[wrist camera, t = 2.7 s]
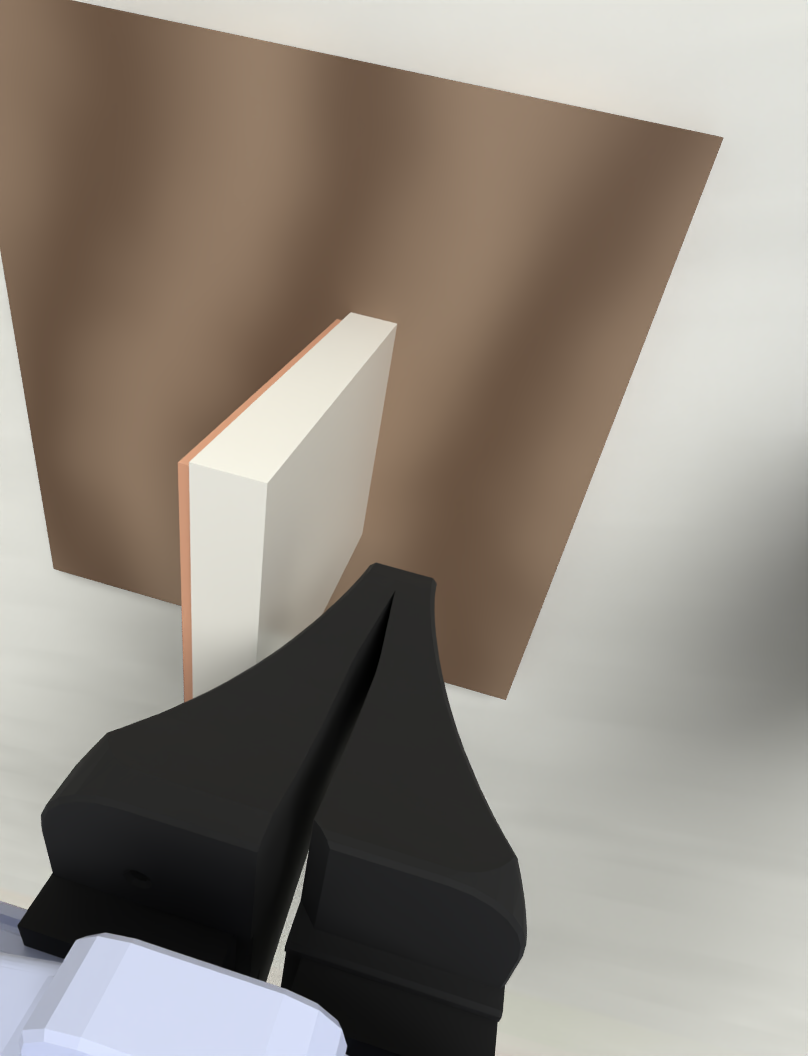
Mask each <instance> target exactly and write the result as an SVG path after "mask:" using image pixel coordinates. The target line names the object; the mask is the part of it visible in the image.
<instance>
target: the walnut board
mask: <svg viewBox="0 0 808 1056" xmlns="http://www.w3.org/2000/svg"><path fill="white" fill-rule="evenodd" d="M722 140H723V137H719V136H714V135H710V134H705V133H700V132H695V131H691V130H686V129H681V128H676V127H672V126H667V125H662V124H657V123H653V122H648V121H643V120H638V119H633V118H629V117H624V116H619V115H614V114H610V113H605V112H600V111H595V110H591V109H586V108H581V107H576V106H572V105H567V104H562V103H557V102H553V101H548V100H543V99H538V98H534V97H529V96H524V95H519V94H515V93H510V92H505V91H500V90H496V89H491V88H486V87H481V86H477V85H472V84H467V83H462V82H458V81H453V80H448V79H443V78H439V77H434V76H429V75H424V74H420V73H415V72H410V71H405V70H401V69H396V68H391V67H386V66H381V65H377V64H372V63H367V62H362V61H358V60H353V59H348V58H343V57H339V56H334V55H329V54H324V53H320V52H315V51H310V50H305V49H301V48H296V47H291V46H286V45H282V44H277V43H272V42H267V41H263V40H258V39H253V38H248V37H244V36H239V35H234V34H229V33H225V32H220V31H215V30H210V29H206V28H201V27H196V26H191V25H187V24H182V23H177V22H172V21H168V20H163V19H158V18H153V17H148V16H144V15H139V14H134V13H129V12H125V11H120V10H115V9H110V8H106V7H101V6H96V5H91V4H87V3H82V2H77V1H72V0H0V251H1V257H2V263H3V269H4V275H5V281H6V287H7V293H8V298H9V304H10V310H11V316H12V322H13V328H14V334H15V340H16V346H17V352H18V358H19V364H20V370H21V376H22V382H23V388H24V394H25V400H26V406H27V412H28V418H29V424H30V430H31V436H32V442H33V448H34V454H35V460H36V466H37V472H38V478H39V484H40V490H41V496H42V502H43V508H44V514H45V520H46V526H47V532H48V538H49V544H50V550H51V556H52V561H53V567H54V569H56V570H59V571H63V572H66V573H70V574H73V575H76V576H80V577H83V578H87V579H90V580H94V581H97V582H101V583H104V584H107V585H111V586H114V587H118V588H121V589H125V590H128V591H132V592H135V593H139V594H142V595H145V596H149V597H152V598H156V599H159V600H163V601H166V602H170V603H173V604H176V605H180V606H182V601H181V564H180V528H179V491H178V462H179V461H180V460H181V459H182V458H183V457H185V456H186V455H187V454H188V453H189V452H190V451H191V450H192V449H193V448H195V447H196V446H197V445H198V444H199V443H200V442H201V441H202V440H203V439H205V438H206V437H207V436H208V435H209V434H210V433H211V432H212V431H213V430H214V429H216V428H217V427H218V426H219V425H220V424H221V423H222V422H223V421H224V420H226V419H227V418H228V417H229V416H230V415H231V414H232V413H233V412H234V411H236V410H237V409H238V408H239V407H240V406H241V405H242V404H243V403H244V402H246V401H247V400H248V399H249V398H250V397H251V396H252V395H253V394H254V393H256V392H257V391H258V390H259V389H260V388H261V387H262V386H263V385H264V384H266V383H267V382H268V381H269V380H270V379H271V378H272V377H273V376H274V375H275V374H277V373H278V372H279V371H280V370H281V369H282V368H283V367H284V366H285V365H287V364H288V363H289V362H290V361H291V360H292V359H293V358H294V357H295V356H297V355H298V354H299V353H300V352H301V351H302V350H303V349H304V348H305V347H307V346H308V345H309V344H310V343H311V342H312V341H313V340H314V339H315V338H317V337H318V336H319V335H320V334H321V333H322V332H323V331H324V330H325V329H327V328H328V327H329V326H330V325H331V324H332V323H333V322H334V321H335V320H336V319H339V320H343V319H344V318H345V317H346V316H347V315H348V314H349V313H351V312H352V313H356V314H360V315H364V316H368V317H372V318H376V319H380V320H384V321H389V322H393V323H397V329H396V335H395V341H394V347H393V353H392V359H391V365H390V371H389V377H388V383H387V389H386V395H385V401H384V407H383V413H382V419H381V425H380V431H379V437H378V443H377V449H376V454H375V460H374V466H373V472H372V478H371V484H370V490H369V496H368V502H367V508H366V514H365V520H364V526H363V532H362V536H361V538H360V540H359V542H358V544H357V546H356V548H355V550H354V552H353V554H352V556H351V558H350V560H349V562H348V564H347V566H346V568H345V570H344V572H343V574H342V576H341V578H340V580H339V582H338V584H337V586H336V588H335V590H334V592H333V594H332V596H331V598H330V600H329V602H328V604H327V606H326V608H325V610H324V612H325V611H326V610H328V609H329V608H330V607H331V606H332V605H333V604H334V603H335V602H336V601H337V600H338V599H340V598H341V597H342V596H343V595H344V594H345V593H346V592H347V591H348V590H349V589H350V588H351V586H352V585H353V584H354V583H355V582H356V581H357V580H358V579H359V578H360V577H361V575H362V574H363V573H364V572H365V571H366V569H367V568H368V567H369V566H370V565H371V564H374V563H380V564H383V565H387V566H391V567H394V568H398V569H402V570H405V571H409V572H413V573H416V574H420V575H424V576H427V577H431V578H433V579H434V580H435V582H436V583H437V586H436V591H435V628H436V638H437V645H438V652H439V659H440V665H441V670H442V675H443V680H444V682H446V683H449V684H452V685H456V686H459V687H463V688H466V689H470V690H473V691H477V692H480V693H483V694H487V695H490V696H494V697H497V698H501V699H504V700H506V698H507V695H508V693H509V690H510V688H511V685H512V682H513V680H514V677H515V675H516V672H517V669H518V667H519V664H520V662H521V659H522V657H523V654H524V651H525V649H526V646H527V644H528V641H529V639H530V636H531V633H532V631H533V628H534V626H535V623H536V620H537V618H538V615H539V613H540V610H541V608H542V605H543V602H544V600H545V597H546V595H547V592H548V589H549V587H550V584H551V582H552V579H553V577H554V574H555V571H556V569H557V566H558V564H559V561H560V558H561V556H562V553H563V551H564V548H565V546H566V543H567V540H568V538H569V535H570V533H571V530H572V528H573V525H574V522H575V520H576V517H577V515H578V512H579V509H580V507H581V504H582V502H583V499H584V497H585V494H586V491H587V489H588V486H589V484H590V481H591V478H592V476H593V473H594V471H595V468H596V466H597V463H598V460H599V458H600V455H601V453H602V450H603V448H604V445H605V442H606V440H607V437H608V435H609V432H610V429H611V427H612V424H613V422H614V419H615V417H616V414H617V411H618V409H619V406H620V404H621V401H622V398H623V396H624V393H625V391H626V388H627V386H628V383H629V380H630V378H631V375H632V373H633V370H634V368H635V365H636V362H637V360H638V357H639V355H640V352H641V349H642V347H643V344H644V342H645V339H646V337H647V334H648V331H649V329H650V326H651V324H652V321H653V318H654V316H655V313H656V311H657V308H658V306H659V303H660V300H661V298H662V295H663V293H664V290H665V287H666V285H667V282H668V280H669V277H670V275H671V272H672V269H673V267H674V264H675V262H676V259H677V257H678V254H679V251H680V249H681V246H682V244H683V241H684V238H685V236H686V233H687V231H688V228H689V226H690V223H691V220H692V218H693V215H694V213H695V210H696V207H697V205H698V202H699V200H700V197H701V195H702V192H703V189H704V187H705V184H706V182H707V179H708V177H709V174H710V171H711V169H712V166H713V164H714V161H715V158H716V156H717V153H718V151H719V148H720V146H721V143H722ZM324 612H323V613H324Z"/></svg>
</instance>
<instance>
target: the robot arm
mask: <svg viewBox="0 0 808 1056" xmlns="http://www.w3.org/2000/svg"><path fill="white" fill-rule="evenodd" d="M436 586H437V583H436V582H435V580H434V579H433V578H431V577H427V576H424V575H420V574H416V573H413V572H409V571H405V570H402V569H398V568H394V567H391V566H387V565H383V564H380V563H374V564H371V565H370V566H369V567H368V568H367V569H366V571H365V572H364V573H363V574H362V575H361V577H360V578H359V579H358V580H357V581H356V582H355V583H354V584H353V585H352V586H351V588H350V589H349V590H348V591H347V592H346V593H345V594H344V595H343V596H342V597H341V598H340V599H338V600H337V601H336V602H335V603H334V604H333V605H332V606H331V607H330V608H329V609H328V610H326V611H325V612H324V613H323V614H322V615H321V616H320V617H319V618H318V619H316V620H315V621H314V622H313V623H312V624H310V625H309V626H308V627H307V628H305V629H304V630H303V631H302V632H300V633H299V634H298V635H297V636H295V637H294V638H293V639H292V640H290V641H289V642H288V643H286V644H285V645H283V646H282V647H281V648H279V649H278V650H276V651H275V652H274V653H272V654H271V655H269V656H268V657H266V658H265V659H263V660H262V661H260V662H259V663H257V664H255V665H254V666H252V667H251V668H249V669H247V670H246V671H244V672H242V673H240V674H239V675H237V676H235V677H234V678H232V679H230V680H228V681H227V682H225V683H223V684H221V685H219V686H218V687H216V688H214V689H212V690H210V691H208V692H206V693H204V694H201V695H199V696H197V697H195V698H193V699H191V700H189V701H187V702H184V703H182V704H180V705H178V706H176V707H174V708H172V709H169V710H167V711H165V712H162V713H160V714H157V715H155V716H152V717H149V718H147V719H144V720H141V721H139V722H136V723H133V724H131V725H128V726H125V727H122V728H120V729H117V730H114V731H111V732H108V733H106V735H105V736H104V737H103V738H102V739H101V740H100V741H99V742H98V743H97V744H96V745H95V746H94V747H93V748H92V749H91V750H90V751H89V752H88V753H87V754H86V755H85V756H84V757H83V758H82V759H81V761H80V762H79V763H78V764H77V765H76V766H75V767H74V769H73V770H72V771H71V773H70V774H69V775H68V777H67V778H66V779H65V781H64V782H63V783H62V785H61V786H60V787H59V789H58V790H57V791H56V793H55V794H54V795H53V797H52V798H51V799H50V801H49V802H48V803H47V805H46V806H45V808H44V810H43V812H42V814H41V826H42V832H43V836H44V840H45V844H46V848H47V852H48V856H49V860H50V863H51V867H52V871H53V873H52V875H51V876H50V878H49V879H48V881H47V882H46V884H45V885H44V887H43V888H42V890H41V891H40V893H39V894H38V896H37V897H36V898H35V900H34V901H33V903H32V904H31V906H30V907H29V909H28V910H26V909H23V908H20V907H17V906H14V905H11V904H8V903H5V902H2V901H0V1056H495V1046H496V1035H497V1023H498V1022H499V1021H500V1019H501V1017H502V1012H503V1002H504V990H505V984H506V983H507V981H508V980H509V978H510V976H511V975H512V973H513V971H514V970H515V968H516V966H517V965H518V963H519V961H520V960H521V958H522V956H523V953H524V950H525V946H526V940H527V924H526V909H525V899H524V892H523V885H522V880H521V874H520V869H519V864H518V859H517V857H516V855H515V853H514V851H513V850H512V848H511V846H510V845H509V843H508V841H507V839H506V838H505V836H504V834H503V832H502V830H501V829H500V827H499V825H498V823H497V821H496V819H495V817H494V816H493V813H492V811H491V809H490V807H489V805H488V803H487V801H486V799H485V797H484V795H483V793H482V791H481V789H480V786H479V784H478V782H477V779H476V777H475V775H474V772H473V770H472V767H471V765H470V763H469V760H468V758H467V756H466V753H465V751H464V748H463V745H462V742H461V739H460V737H459V734H458V731H457V728H456V725H455V721H454V718H453V715H452V712H451V708H450V705H449V701H448V697H447V693H446V689H445V684H444V680H443V675H442V670H441V665H440V659H439V652H438V645H437V638H436V628H435V591H436ZM308 850H309V853H308ZM307 853H308V859H307V865H306V872H305V878H304V884H303V890H302V896H301V901H300V904H299V907H298V910H297V913H296V916H295V918H294V921H293V924H292V927H291V930H290V933H289V936H288V939H287V942H286V946H285V952H286V956H285V963H284V969H283V976H282V983H281V987H279V986H276V985H273V984H270V983H267V982H266V980H267V977H268V974H269V971H270V968H271V965H272V962H273V958H274V955H275V952H276V949H277V946H278V943H279V939H280V936H281V933H282V930H283V927H284V924H285V921H286V918H287V915H288V912H289V908H290V905H291V902H292V899H293V896H294V893H295V890H296V887H297V884H298V881H299V878H300V875H301V872H302V869H303V866H304V862H305V859H306V856H307Z"/></svg>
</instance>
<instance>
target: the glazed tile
mask: <svg viewBox="0 0 808 1056" xmlns="http://www.w3.org/2000/svg"><path fill="white" fill-rule="evenodd" d="M396 329H397V323H393V322H389V321H384V320H380V319H376V318H372V317H368V316H364V315H360V314H356V313H352V312H351V313H349V314H348V315H347V316H346V317H345V318H344V319H343V320H339V319H336V320H335V321H334V322H333V323H332V324H331V325H330V326H329V327H328V328H327V329H325V330H324V331H323V332H322V333H321V334H320V335H319V336H318V337H317V338H315V339H314V340H313V341H312V342H311V343H310V344H309V345H308V346H307V347H305V348H304V349H303V350H302V351H301V352H300V353H299V354H298V355H297V356H295V357H294V358H293V359H292V360H291V361H290V362H289V363H288V364H287V365H285V366H284V367H283V368H282V369H281V370H280V371H279V372H278V373H277V374H275V375H274V376H273V377H272V378H271V379H270V380H269V381H268V382H267V383H266V384H264V385H263V386H262V387H261V388H260V389H259V390H258V391H257V392H256V393H254V394H253V395H252V396H251V397H250V398H249V399H248V400H247V401H246V402H244V403H243V404H242V405H241V406H240V407H239V408H238V409H237V410H236V411H234V412H233V413H232V414H231V415H230V416H229V417H228V418H227V419H226V420H224V421H223V422H222V423H221V424H220V425H219V426H218V427H217V428H216V429H214V430H213V431H212V432H211V433H210V434H209V435H208V436H207V437H206V438H205V439H203V440H202V441H201V442H200V443H199V444H198V445H197V446H196V447H195V448H193V449H192V450H191V451H190V452H189V453H188V454H187V455H186V456H185V457H183V458H182V459H181V460H180V461H179V462H178V491H179V528H180V564H181V601H182V638H183V674H184V702H187V701H189V700H191V699H193V698H195V697H197V696H199V695H201V694H204V693H206V692H208V691H210V690H212V689H214V688H216V687H218V686H219V685H221V684H223V683H225V682H227V681H228V680H230V679H232V678H234V677H235V676H237V675H239V674H240V673H242V672H244V671H246V670H247V669H249V668H251V667H252V666H254V665H255V664H257V663H259V662H260V661H262V660H263V659H265V658H266V657H268V656H269V655H271V654H272V653H274V652H275V651H276V650H278V649H279V648H281V647H282V646H283V645H285V644H286V643H288V642H289V641H290V640H292V639H293V638H294V637H295V636H297V635H298V634H299V633H300V632H302V631H303V630H304V629H305V628H307V627H308V626H309V625H310V624H312V623H313V622H314V621H315V620H316V619H318V618H319V617H320V616H321V615H322V614H323V612H324V610H325V608H326V606H327V604H328V602H329V600H330V598H331V596H332V594H333V592H334V590H335V588H336V586H337V584H338V582H339V580H340V578H341V576H342V574H343V572H344V570H345V568H346V566H347V564H348V562H349V560H350V558H351V556H352V554H353V552H354V550H355V548H356V546H357V544H358V542H359V540H360V538H361V536H362V532H363V526H364V520H365V514H366V508H367V502H368V496H369V490H370V484H371V478H372V472H373V466H374V460H375V454H376V449H377V443H378V437H379V431H380V425H381V419H382V413H383V407H384V401H385V395H386V389H387V383H388V377H389V371H390V365H391V359H392V353H393V347H394V341H395V335H396Z"/></svg>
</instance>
